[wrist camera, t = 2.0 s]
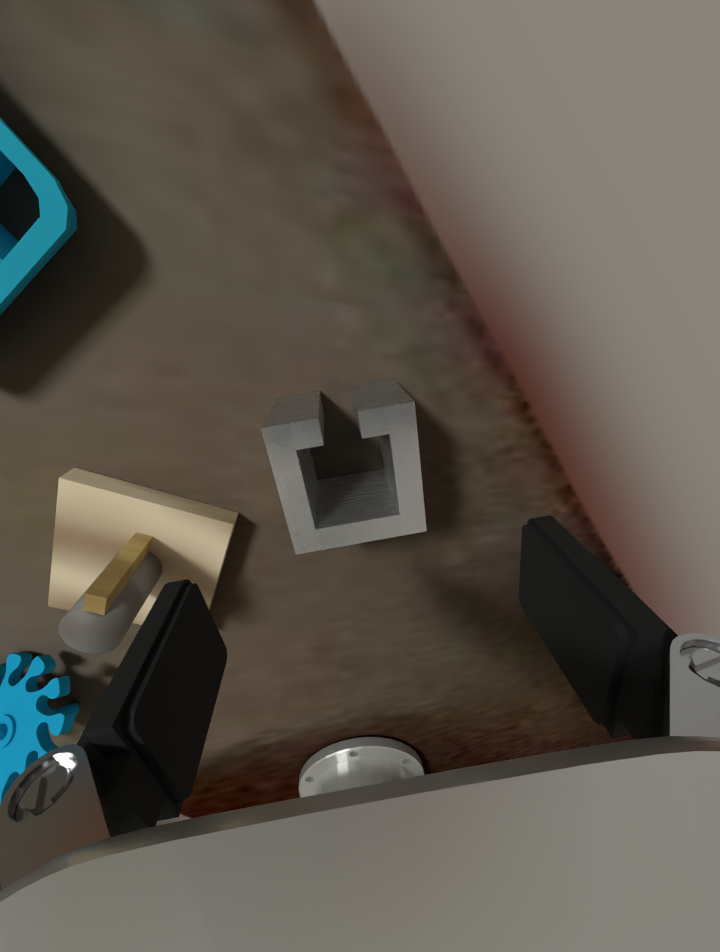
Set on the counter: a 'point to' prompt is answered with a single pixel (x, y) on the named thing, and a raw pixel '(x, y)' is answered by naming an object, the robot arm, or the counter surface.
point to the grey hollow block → (355, 495)
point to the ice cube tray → (46, 235)
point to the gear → (29, 714)
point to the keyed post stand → (127, 554)
